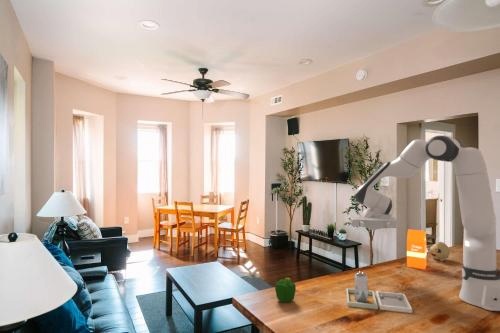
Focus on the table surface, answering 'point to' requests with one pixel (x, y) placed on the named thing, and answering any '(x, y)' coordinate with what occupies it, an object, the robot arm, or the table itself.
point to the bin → (362, 305)
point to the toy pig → (439, 251)
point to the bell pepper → (285, 290)
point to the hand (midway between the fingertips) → (375, 225)
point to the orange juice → (416, 249)
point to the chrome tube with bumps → (361, 287)
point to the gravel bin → (393, 302)
